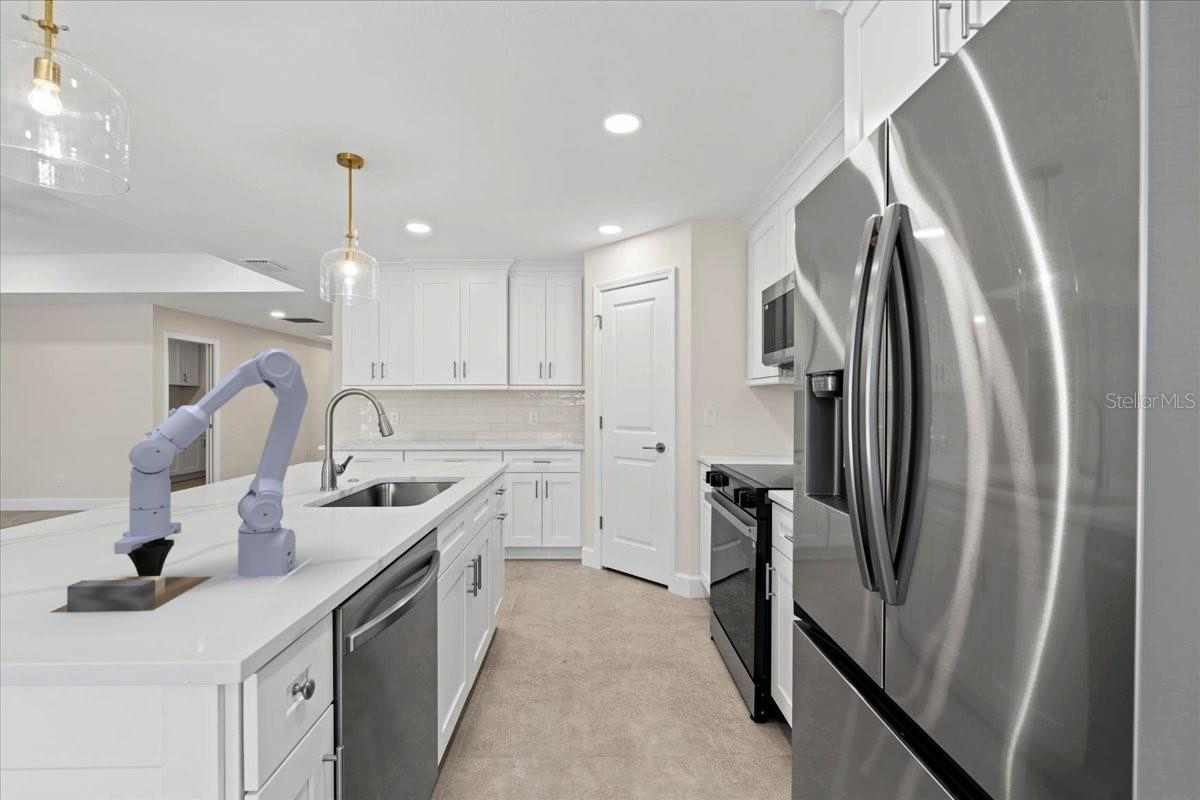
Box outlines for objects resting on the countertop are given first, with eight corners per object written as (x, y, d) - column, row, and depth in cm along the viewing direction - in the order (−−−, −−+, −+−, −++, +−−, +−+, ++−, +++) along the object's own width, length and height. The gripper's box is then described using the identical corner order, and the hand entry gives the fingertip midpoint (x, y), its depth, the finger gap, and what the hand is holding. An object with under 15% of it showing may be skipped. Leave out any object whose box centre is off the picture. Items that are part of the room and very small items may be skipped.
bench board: (212, 579, 109) (212, 555, 109) (152, 614, 92) (152, 585, 92) (126, 580, 107) (127, 556, 107) (49, 616, 90) (50, 586, 90)
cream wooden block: (164, 593, 99) (165, 576, 99) (145, 603, 94) (145, 585, 94) (114, 594, 99) (115, 576, 99) (92, 604, 94) (92, 586, 94)
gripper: (152, 499, 108) (152, 571, 108) (94, 515, 94) (93, 598, 94) (193, 499, 109) (192, 570, 109) (141, 515, 94) (140, 597, 95)
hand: (149, 583), depth 101 cm, fingers closed
